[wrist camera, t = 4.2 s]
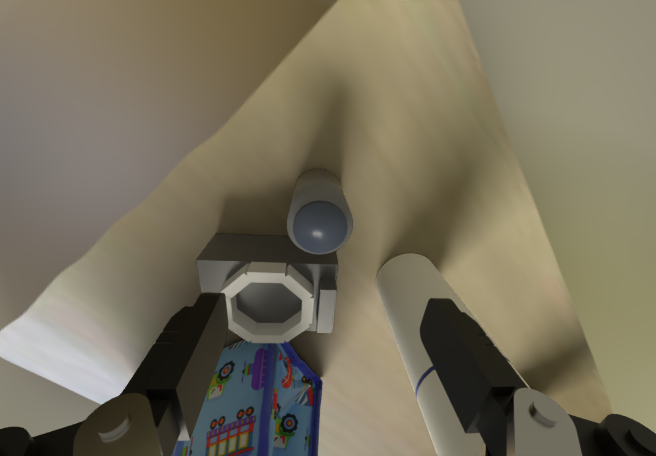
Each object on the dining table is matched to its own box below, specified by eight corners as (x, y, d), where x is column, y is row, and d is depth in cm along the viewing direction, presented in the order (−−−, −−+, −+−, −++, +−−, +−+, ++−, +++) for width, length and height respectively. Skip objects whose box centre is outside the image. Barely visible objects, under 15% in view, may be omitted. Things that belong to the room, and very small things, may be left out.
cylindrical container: (411, 241, 28) (868, 847, 5) (447, 277, 30) (862, 792, 7) (362, 281, 29) (535, 849, 7) (400, 311, 32) (618, 805, 9)
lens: (343, 169, 24) (358, 198, 16) (338, 214, 26) (350, 259, 18) (294, 166, 23) (286, 194, 15) (294, 212, 25) (285, 257, 17)
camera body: (333, 238, 27) (340, 275, 21) (327, 297, 30) (331, 344, 24) (216, 233, 26) (187, 271, 20) (223, 295, 29) (200, 343, 23)
